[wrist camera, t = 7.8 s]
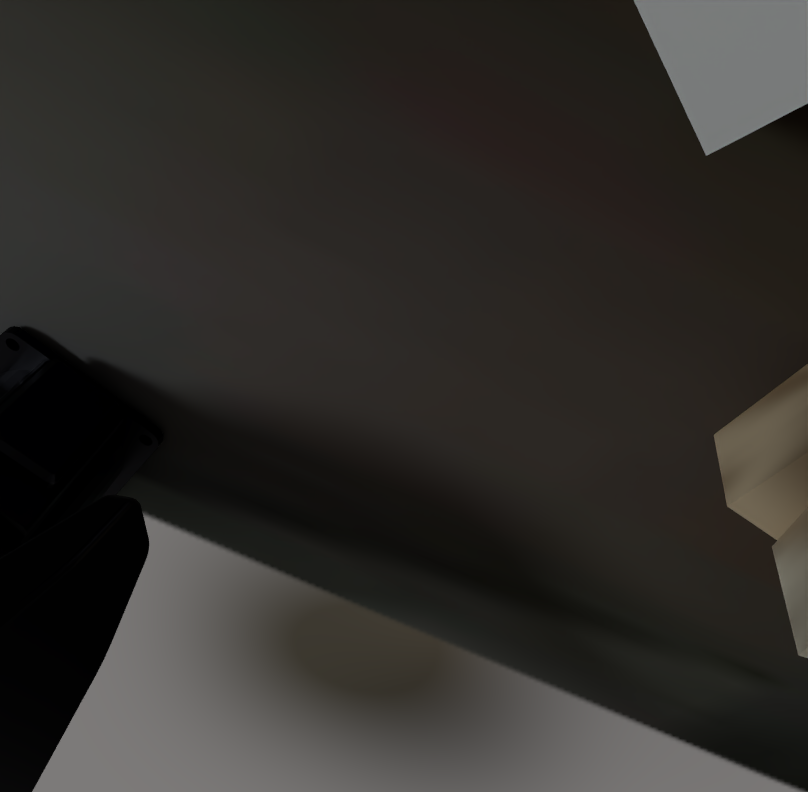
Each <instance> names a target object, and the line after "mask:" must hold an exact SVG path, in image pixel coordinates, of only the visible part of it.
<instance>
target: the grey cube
mask: <svg viewBox="0 0 808 792" xmlns="http://www.w3.org/2000/svg"><path fill="white" fill-rule="evenodd" d="M634 2H635V4H636V6H637V8H638V10H639V12H640V15H641V17H642V19H643V21H644V23H645V25H646V27H647V30H648V32H649V34H650V36H651V38H652V40H653V42H654V45H655V47H656V49H657V51H658V53H659V55H660V57H661V60H662V62H663V64H664V66H665V68H666V70H667V72H668V75H669V77H670V79H671V81H672V83H673V85H674V87H675V90H676V92H677V94H678V96H679V98H680V100H681V102H682V105H683V107H684V109H685V111H686V113H687V115H688V117H689V120H690V122H691V124H692V126H693V128H694V130H695V133H696V135H697V137H698V139H699V141H700V143H701V145H702V148H703V150H704V152H705V154H706V156H707V155H709V154H711V153H713V152H715V151H716V150H718V149H720V148H722V147H724V146H726V145H728V144H730V143H732V142H734V141H736V140H738V139H740V138H742V137H744V136H746V135H747V134H749V133H751V132H753V131H755V130H757V129H759V128H761V127H763V126H765V125H767V124H769V123H771V122H773V121H775V120H777V119H778V118H780V117H782V116H784V115H786V114H788V113H790V112H792V111H794V110H796V109H798V108H800V107H802V106H804V105H806V104H808V0H634Z"/></svg>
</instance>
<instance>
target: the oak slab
mask: <svg viewBox="0 0 808 792" xmlns="http://www.w3.org/2000/svg"><path fill="white" fill-rule="evenodd" d="M714 439H715V444H716V450H717V455H718V460H719V465H720V471H721V476H722V481H723V486H724V492H725V497H726V502H727V506H728V507H729V508H731V509H732V510H734V511H735V512H736V513H738V514H739V515H741V516H742V517H744V518H745V519H747V520H748V521H750V522H751V523H753V524H754V525H756V526H757V527H758V528H760V529H761V530H763V531H764V532H766V533H767V534H769V535H770V536H772V537H773V538H775V539H776V540H778V539H779V538H780V537H781V536H782V535H783V534H784V533H785V532H786V531H787V529H788V528H789V527H790V526H791V525H792V524H793V523H794V522H795V521H796V519H797V518H798V517H799V516H800V515H801V514H802V513H803V512H804V511H805V509H806V508H807V507H808V364H807V365H806V366H804V367H803V368H802V369H800V370H799V371H798V372H796V373H795V374H794V375H792V376H791V377H790V378H788V379H787V380H786V381H784V382H783V383H782V384H780V385H779V386H778V387H776V388H775V389H774V390H772V391H771V392H770V393H769V394H767V395H766V396H765V397H763V398H762V399H761V400H759V401H758V402H757V403H755V404H754V405H753V406H751V407H750V408H749V409H747V410H746V411H745V412H743V413H742V414H741V415H739V416H738V417H737V418H735V419H734V420H733V421H731V422H730V423H729V424H728V425H726V426H725V427H724V428H722V429H721V430H720V431H718V432H717V433H716V434H714Z"/></svg>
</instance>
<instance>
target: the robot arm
mask: <svg viewBox="0 0 808 792" xmlns="http://www.w3.org/2000/svg"><path fill="white" fill-rule="evenodd" d="M147 436H149V437H150V438H149V437H147ZM163 439H164V437H163V433H162V431H161V430H160V429H159V428H158V427H157V426H156V425H154V424H153V423H151V422H150V421H149V420H147V419H146V418H145V417H143V416H142V415H140V414H139V413H138V412H136V411H135V410H134V409H132V408H131V407H129V406H128V405H127V404H125V403H124V402H123V401H121V400H120V399H118V398H117V397H116V396H114V395H113V394H112V393H110V392H109V391H107V390H106V389H105V388H103V387H102V386H101V385H99V384H98V383H96V382H95V381H94V380H92V379H91V378H90V377H88V376H87V375H85V374H84V373H83V372H81V371H80V370H79V369H77V368H76V367H75V366H73V365H72V364H70V363H69V362H68V361H66V360H65V359H64V358H62V357H61V356H59V355H58V354H57V353H55V352H54V351H53V350H51V349H50V348H48V347H47V346H46V345H44V344H43V343H42V342H40V341H39V340H37V339H36V338H35V337H33V336H32V335H31V334H29V333H28V332H26V331H25V330H23V329H21V328H20V327H15V326H13V327H10V328H8V329H7V330H6V331H4V332H3V333H2V334H1V335H0V792H32V791H33V789H34V787H35V785H36V784H37V782H38V780H39V778H40V776H41V774H42V773H43V771H44V769H45V767H46V765H47V763H48V762H49V760H50V758H51V756H52V754H53V752H54V751H55V749H56V747H57V745H58V743H59V741H60V740H61V738H62V736H63V734H64V732H65V731H66V729H67V727H68V725H69V723H70V721H71V719H72V717H73V716H74V714H75V712H76V710H77V709H78V707H79V705H80V703H81V701H82V699H83V698H84V696H85V694H86V692H87V690H88V689H89V686H90V685H91V683H92V681H93V679H94V677H95V676H96V674H97V672H98V670H99V668H100V666H101V664H102V662H103V660H104V658H105V656H106V653H107V651H108V649H109V647H110V644H111V642H112V640H113V638H114V635H115V633H116V630H117V628H118V625H119V623H120V621H121V618H122V616H123V613H124V611H125V609H126V606H127V604H128V601H129V599H130V597H131V594H132V592H133V589H134V587H135V585H136V582H137V580H138V577H139V575H140V573H141V570H142V568H143V565H144V563H145V560H146V558H147V554H148V550H149V538H148V534H147V530H146V526H145V521H144V517H143V513H142V509H141V505H140V503H139V502H138V501H137V500H136V499H134V498H129V497H124V496H118V495H116V494H117V493H118V492H119V491H120V490H121V488H122V487H123V486H124V485H125V484H126V483H127V482H128V481H129V479H130V478H131V477H132V476H133V475H134V474H135V473H136V472H137V470H138V469H139V468H140V467H141V466H142V465H143V464H144V463H145V461H146V460H147V459H148V458H149V457H150V456H151V455H152V454H153V452H154V451H155V450H156V449H157V448H158V446H159V445H160V444H161V442H162V441H163Z"/></svg>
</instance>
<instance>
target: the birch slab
mask: <svg viewBox="0 0 808 792" xmlns="http://www.w3.org/2000/svg"><path fill="white" fill-rule="evenodd" d="M772 549H773V553H774V557H775V561H776V565H777V569H778V574H779V578H780V582H781V586H782V590H783V594H784V598H785V602H786V606H787V610H788V614H789V619H790V623H791V627H792V631H793V635H794V639H795V643H796V647H797V651H798V655H800V656H803V657H805V658H808V507H807V508H806V509H805V511H804V512H803V513H802V514H801V515H800V516H799V517H798V518H797V519H796V521H795V522H794V523H793V524H792V525H791V526H790V527H789V528H788V529H787V531H786V532H785V533H784V534H783V535H782V536H781V537H780V538H779V539H778V540H777V542H776V543H775V544H774V545H773V546H772Z"/></svg>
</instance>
